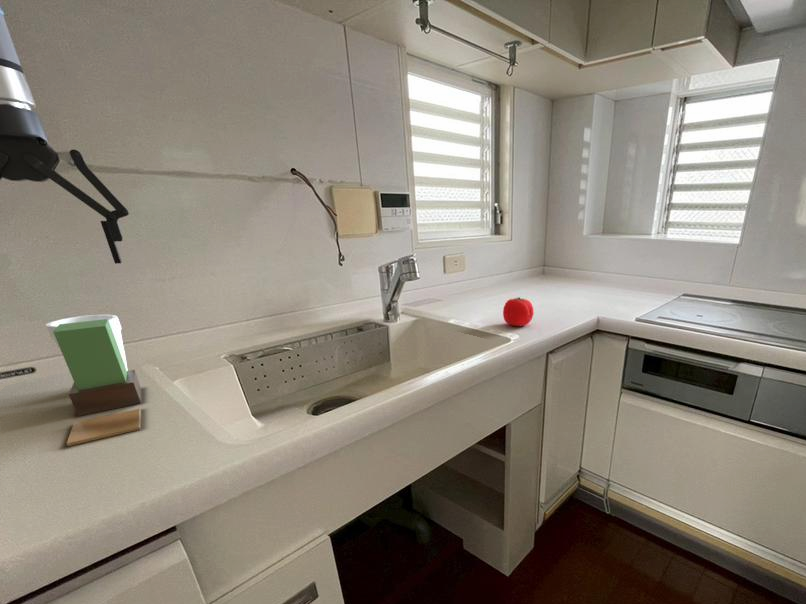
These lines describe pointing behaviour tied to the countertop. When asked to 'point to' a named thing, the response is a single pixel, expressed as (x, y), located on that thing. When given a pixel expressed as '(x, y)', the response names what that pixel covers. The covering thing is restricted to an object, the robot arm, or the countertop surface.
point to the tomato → (518, 312)
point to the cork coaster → (104, 427)
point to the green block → (91, 353)
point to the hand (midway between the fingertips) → (60, 266)
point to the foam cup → (112, 320)
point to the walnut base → (106, 396)
